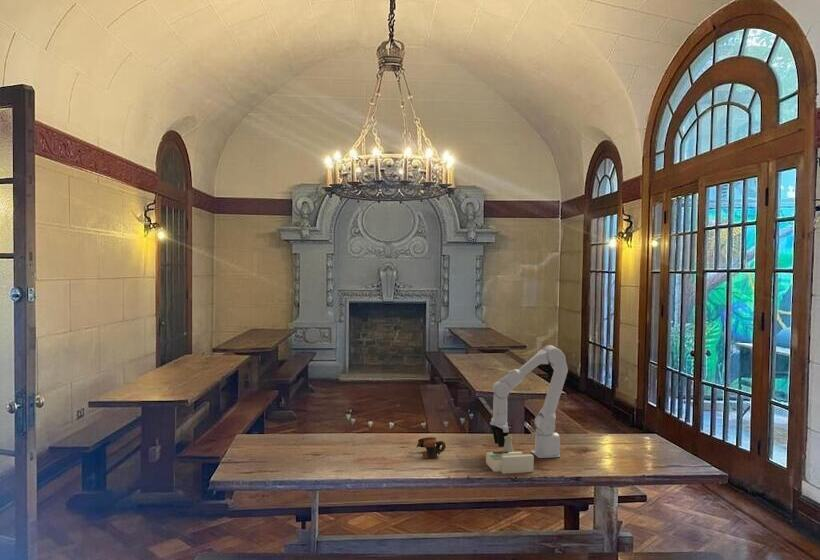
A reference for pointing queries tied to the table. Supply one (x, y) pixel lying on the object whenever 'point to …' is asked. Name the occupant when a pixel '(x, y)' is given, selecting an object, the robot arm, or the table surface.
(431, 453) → the pottery mug
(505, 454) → the pad
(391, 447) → the table surface
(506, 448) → the grey vase
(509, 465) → the gauge frame
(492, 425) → the robot arm
